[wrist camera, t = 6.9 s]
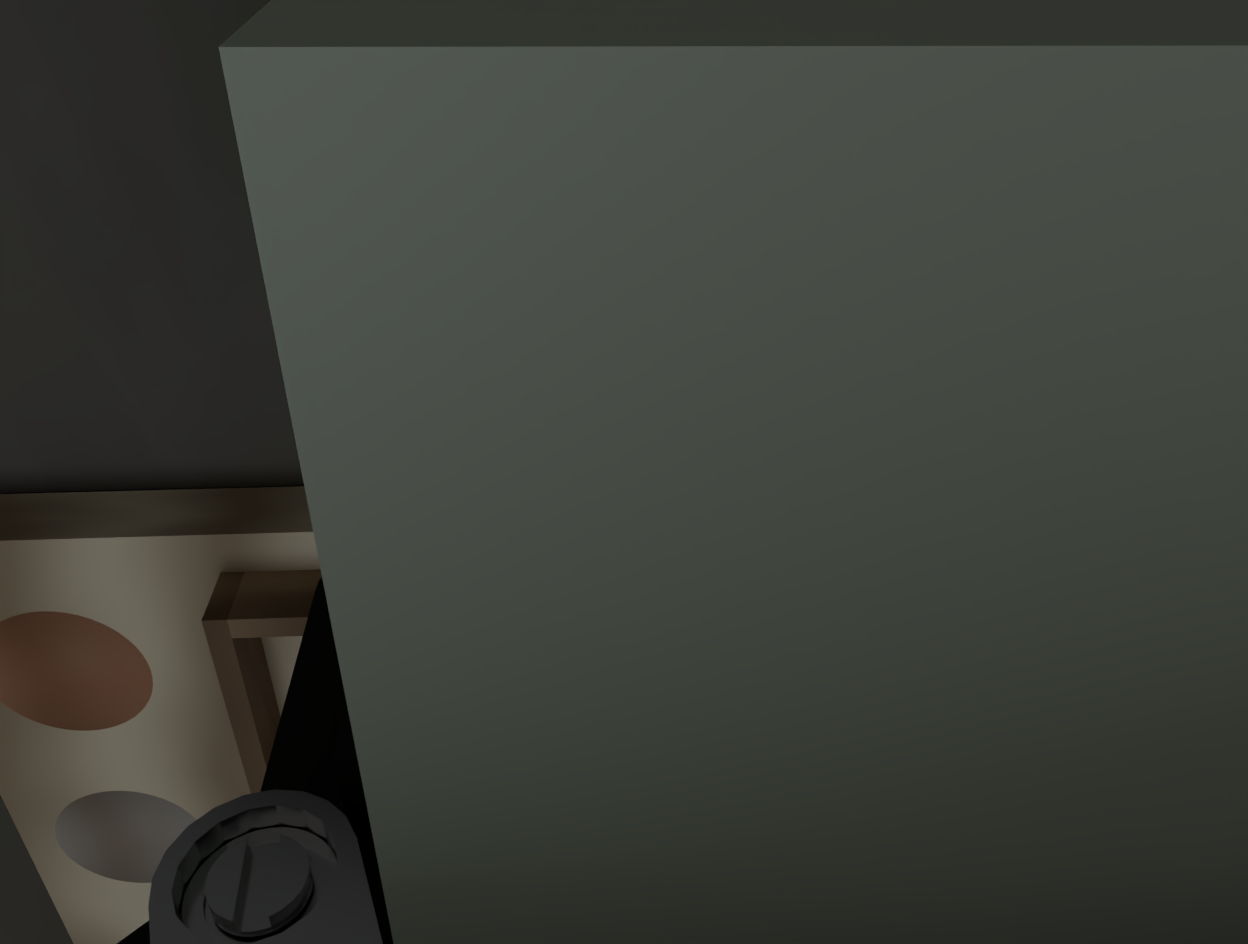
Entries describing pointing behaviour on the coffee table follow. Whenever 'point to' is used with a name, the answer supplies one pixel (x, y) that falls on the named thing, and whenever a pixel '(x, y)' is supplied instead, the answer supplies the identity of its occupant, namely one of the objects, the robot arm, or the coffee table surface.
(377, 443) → the housing
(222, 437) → the coffee table surface
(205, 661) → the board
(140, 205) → the coffee table surface
